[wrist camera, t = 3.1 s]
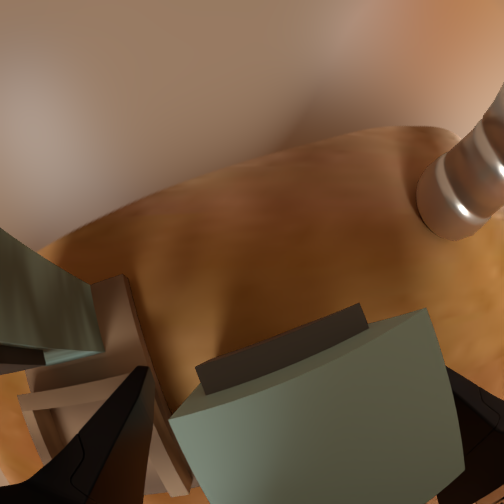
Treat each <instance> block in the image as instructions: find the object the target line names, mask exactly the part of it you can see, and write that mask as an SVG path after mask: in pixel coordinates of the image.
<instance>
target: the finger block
mask: <svg viewBox="0 0 504 504" xmlns="http://www.w3.org/2000/svg"><path fill="white" fill-rule="evenodd" d="M195 369H196V372H197V374H198V377H199V380H200V382H201V383H200V384H199V385H198V386H197V388H196V389H195V390H194V391H193V392H192V393H191V394H190V396H189V397H188V398H187V399H186V400H185V401H184V402H183V404H182V405H181V406H180V407H179V408H178V409H177V410H176V411H175V413H174V414H173V415H172V416H171V417H170V418H169V419H168V421H169V423H170V425H171V428H172V430H173V432H174V434H175V437H176V439H177V441H178V443H179V445H180V447H181V450H182V452H183V454H184V456H185V458H186V460H187V462H188V464H189V466H190V468H191V470H192V472H193V474H194V475H195V477H196V479H197V481H198V483H199V485H200V486H201V488H202V490H203V492H204V494H205V495H206V497H207V499H208V500H209V502H210V504H425V503H427V502H428V501H429V500H431V499H432V498H433V497H434V496H436V495H437V494H438V493H439V492H441V491H442V490H443V489H444V488H445V487H447V486H448V485H449V484H450V483H451V482H452V481H453V480H455V479H456V478H457V477H458V476H459V475H460V474H461V473H462V472H463V471H464V470H465V465H464V455H463V447H462V440H461V434H460V428H459V422H458V417H457V412H456V407H455V402H454V398H453V393H452V389H451V385H450V381H449V377H448V373H447V370H446V366H445V363H444V359H443V356H442V353H441V349H440V346H439V343H438V340H437V337H436V334H435V331H434V328H433V325H432V322H431V319H430V317H429V314H428V311H427V309H426V308H423V309H420V310H417V311H414V312H410V313H407V314H403V315H400V316H396V317H393V318H389V319H385V320H382V321H378V322H374V323H370V324H368V323H367V321H366V318H365V316H364V313H363V311H362V308H361V306H360V303H357V304H355V305H353V306H350V307H348V308H345V309H343V310H341V311H338V312H336V313H333V314H330V315H328V316H325V317H323V318H320V319H318V320H315V321H312V322H310V323H307V324H304V325H302V326H299V327H297V328H294V329H292V330H289V331H287V332H284V333H282V334H279V335H277V336H274V337H271V338H269V339H266V340H263V341H261V342H258V343H255V344H253V345H250V346H247V347H244V348H242V349H239V350H236V351H233V352H230V353H227V354H224V355H221V356H218V357H215V358H212V359H210V360H208V361H206V362H204V363H202V364H200V365H198V366H196V367H195Z"/></svg>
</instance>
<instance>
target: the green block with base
mask: <svg viewBox="0 0 504 504" xmlns="http://www.w3.org/2000/svg"><path fill="white" fill-rule="evenodd" d="M138 365H142V366H149V367H150V369H151V372H152V375H153V378H154V381H155V401H154V422H153V431H152V438H151V444H150V451H149V457H148V465H147V472H146V480H145V488H144V495H148V494H156V493H164V492H168V493H169V495H170V496H171V497H176V496H182V495H188V494H189V493H190V489H191V488H194V487H199V486H200V485H199V483H198V481H197V479H196V477H195V475H194V474H193V472H192V470H191V468H190V466H189V464H188V462H187V460H186V458H185V456H184V454H183V452H182V450H181V447H180V445H179V443H178V441H177V439H176V437H175V434H174V432H173V430H172V428H171V425H170V423H169V421H168V419H169V418H170V417H171V416H172V415H171V413H170V410H169V408H168V405H167V403H166V400H165V398H164V395H163V392H162V390H161V387H160V384H159V382H158V379H157V376H156V373H155V371H154V368H153V365H152V362H151V359H150V356H149V353H148V350H147V346H146V343H145V340H144V337H143V333H142V330H141V327H140V323H139V320H138V316H137V312H136V309H135V305H134V301H133V297H132V293H131V289H130V285H129V280H128V278H127V277H126V276H124V275H123V274H121V275H118V276H115V277H112V278H109V279H106V280H103V281H100V282H98V283H95V284H92V285H89V284H87V283H85V282H83V281H82V280H80V279H78V278H77V277H75V276H73V275H71V274H70V273H68V272H66V271H65V270H63V269H61V268H60V267H58V266H56V265H55V264H53V263H52V262H50V261H48V260H47V259H45V258H44V257H42V256H41V255H39V254H37V253H36V252H34V251H33V250H31V249H30V248H28V247H27V246H25V245H24V244H22V243H21V242H20V241H18V240H17V239H15V238H14V237H12V236H11V235H9V234H8V233H6V232H5V231H4V230H3V229H1V228H0V375H2V374H8V373H13V372H17V371H22V370H25V373H26V377H27V381H28V384H29V388H30V391H31V393H29V394H22V395H17V397H18V400H19V403H20V407H21V410H22V413H23V416H24V419H25V421H26V424H27V427H28V430H29V432H30V435H31V437H32V440H33V442H34V445H35V447H36V449H37V452H38V454H39V456H40V458H41V460H42V462H43V465H44V466H45V465H46V464H47V463H48V462H49V461H51V460H52V459H53V458H54V457H55V456H56V455H57V454H58V453H59V452H60V451H61V450H62V449H63V448H64V447H65V446H66V445H67V444H68V443H69V442H70V441H71V440H72V438H73V437H74V436H75V435H76V434H77V433H78V432H79V431H80V429H81V428H82V427H83V426H84V425H85V424H86V423H87V422H88V420H89V419H90V418H91V417H92V416H93V415H94V414H95V412H96V411H97V410H98V409H99V408H100V407H101V406H102V405H103V403H104V402H105V401H106V400H107V399H108V398H109V397H110V395H111V394H112V393H113V392H114V391H115V390H116V389H117V388H118V386H119V385H120V384H121V383H122V382H123V381H124V380H125V379H126V377H127V376H128V375H129V374H130V373H131V372H132V371H133V370H134V369H135V367H136V366H138Z"/></svg>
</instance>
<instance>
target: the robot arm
mask: <svg viewBox="0 0 504 504" xmlns="http://www.w3.org/2000/svg"><path fill="white" fill-rule="evenodd" d="M446 370H447V373H448V377H449V381H450V385H451V389H452V393H453V398H454V402H455V407H456V412H457V417H458V422H459V428H460V434H461V440H462V447H463V455H464V465H465V470H464V471H463V472H462V473H461V474H460V475H459V476H458V477H457V478H456V479H455V480H453V481H452V482H451V483H450V484H449V485H448V486H447V487H445V488H444V489H443V490H442V491H441V492H439V493H438V494H437V499H438V503H439V504H473V503H476V504H504V401H503V400H501V399H500V398H498V397H496V396H494V395H492V394H490V393H489V392H487V391H485V390H484V389H482V388H481V387H478V386H477V385H476V384H474V383H473V382H471V381H469V380H468V379H466V378H465V377H463V376H461V375H460V374H458V373H457V372H455V371H453V370H452V369H450V368H448V367H447V366H446ZM154 401H155V381H154V378H153V375H152V372H151V369H150V367H149V366H142V365H138V366H136V367H135V369H134V370H133V371H132V372H131V373H130V374H129V375H128V376H127V377H126V379H125V380H124V381H123V382H122V383H121V384H120V385H119V386H118V388H117V389H116V390H115V391H114V392H113V393H112V394H111V395H110V397H109V398H108V399H107V400H106V401H105V402H104V403H103V405H102V406H101V407H100V408H99V409H98V410H97V411H96V412H95V414H94V415H93V416H92V417H91V418H90V419H89V420H88V422H87V423H86V424H85V425H84V426H83V427H82V428H81V429H80V431H79V432H78V433H77V434H76V435H75V436H74V437H73V438H72V440H71V441H70V442H69V443H68V444H67V445H66V446H65V447H64V448H63V449H62V450H61V451H60V452H59V453H58V454H57V455H56V456H55V457H54V458H53V459H52V460H51V461H49V462H48V463H47V464H46V465H45V466H44V467H43V468H41V469H40V470H39V471H38V472H37V473H36V474H34V475H33V476H32V477H31V478H29V479H28V480H26V481H24V482H22V483H19V484H14V485H8V486H2V487H0V504H143V497H144V488H145V480H146V472H147V465H148V457H149V451H150V444H151V438H152V431H153V422H154Z"/></svg>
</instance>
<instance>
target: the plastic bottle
mask: <svg viewBox="0 0 504 504" xmlns="http://www.w3.org/2000/svg"><path fill="white" fill-rule="evenodd" d="M416 202H417V207H418V211H419V213H420V215H421V217H422V219H423V221H424V222H425V224H426V225H427V226H428V228H429V229H430V230H431V231H432V232H433V233H435V234H436V235H437V236H439V237H441V238H444V239H448V240H452V241H457V240H460V239H463V238H466V237H469V236H472V235H473V234H474V233H476V232H477V231H478V230H479V229H480V228H481V227H482V226H483V225H484V224H486V222H487V221H488V220H489V219H490V218H491V216H492V215H493V214H494V213H495V212H496V211H498V210H499V209H500V208H501V207H502V206H503V205H504V83H503V85H502V87H501V89H500V91H499V93H498V94H497V96H496V98H495V100H494V102H493V103H492V104H491V106H490V107H489V109H488V110H487V111H486V113H485V114H484V115H483V119H481V120H480V121H479V122H478V123H477V125H476V126H475V128H474V129H473V130H472V131H471V132H470V133H469V134H468V135H467V136H465V137H464V138H463V139H462V140H461V141H460V142H459V143H458V144H457V145H455V146H454V147H453V148H452V149H451V150H450V151H449V152H446V153H445V154H443V155H441V156H440V157H439V158H437V159H436V160H435V161H434V162H432V163H431V164H430V165H429V166H427V168H426V169H425V171H424V173H423V174H422V176H421V178H420V179H419V181H418V184H417V191H416Z"/></svg>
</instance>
